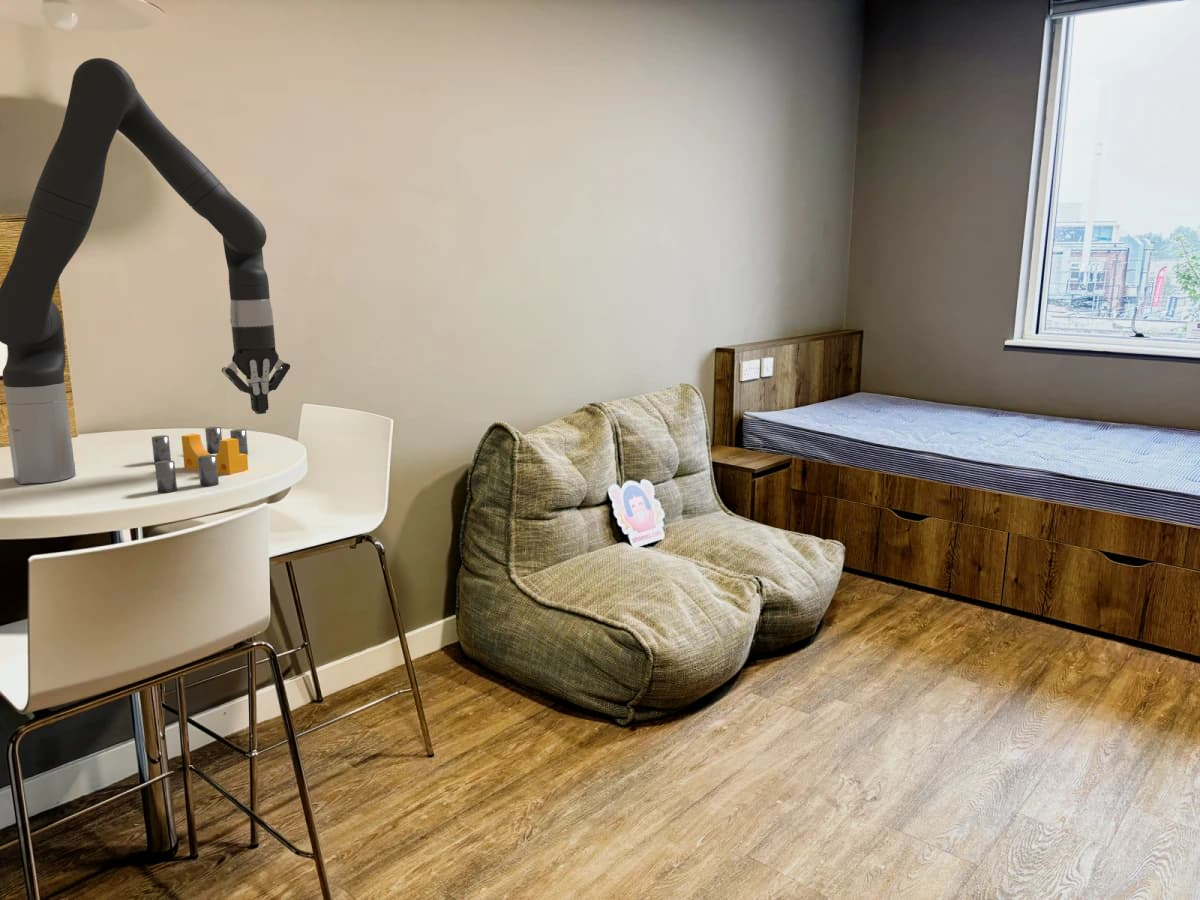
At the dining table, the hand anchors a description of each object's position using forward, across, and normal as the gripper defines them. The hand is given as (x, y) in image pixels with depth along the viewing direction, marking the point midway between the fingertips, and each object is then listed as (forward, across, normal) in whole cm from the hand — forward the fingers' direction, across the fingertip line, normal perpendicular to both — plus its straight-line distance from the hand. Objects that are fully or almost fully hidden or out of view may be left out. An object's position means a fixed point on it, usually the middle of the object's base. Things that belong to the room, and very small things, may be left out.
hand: (260, 413), depth 175 cm
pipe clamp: (+10, -9, 0) cm, 14 cm away
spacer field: (+10, -11, +2) cm, 15 cm away
